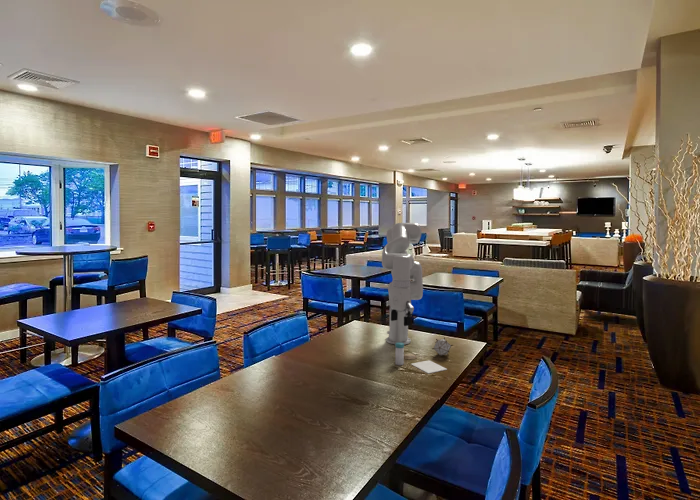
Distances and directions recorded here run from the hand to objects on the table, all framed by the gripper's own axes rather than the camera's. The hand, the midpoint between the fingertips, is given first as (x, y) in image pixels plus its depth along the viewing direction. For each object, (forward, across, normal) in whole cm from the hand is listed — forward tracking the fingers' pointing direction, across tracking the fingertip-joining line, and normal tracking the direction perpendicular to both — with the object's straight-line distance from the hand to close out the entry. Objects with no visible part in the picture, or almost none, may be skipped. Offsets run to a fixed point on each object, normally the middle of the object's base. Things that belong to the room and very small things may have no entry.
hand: (400, 322), depth 180 cm
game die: (+18, 0, +24) cm, 30 cm away
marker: (+18, 0, 0) cm, 18 cm away
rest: (+18, -5, +9) cm, 21 cm away
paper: (+18, +9, +9) cm, 22 cm away
